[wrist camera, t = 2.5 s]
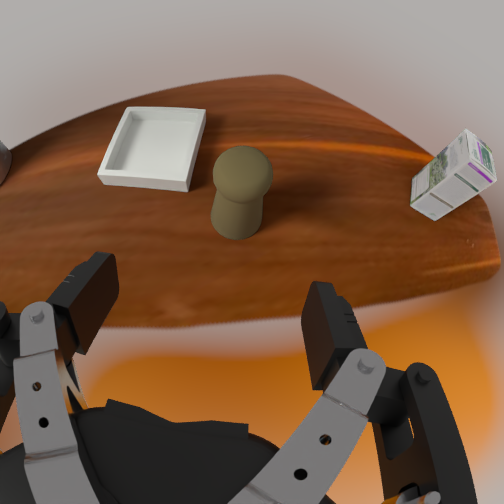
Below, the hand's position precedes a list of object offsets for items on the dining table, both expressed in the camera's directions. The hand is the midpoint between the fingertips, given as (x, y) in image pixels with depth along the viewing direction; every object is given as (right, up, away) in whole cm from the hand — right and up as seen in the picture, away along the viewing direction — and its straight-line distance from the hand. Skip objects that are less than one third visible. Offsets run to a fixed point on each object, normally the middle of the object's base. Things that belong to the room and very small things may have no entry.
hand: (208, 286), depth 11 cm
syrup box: (+28, +9, +26) cm, 40 cm away
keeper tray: (-11, +15, +23) cm, 29 cm away
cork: (0, +6, +22) cm, 22 cm away
